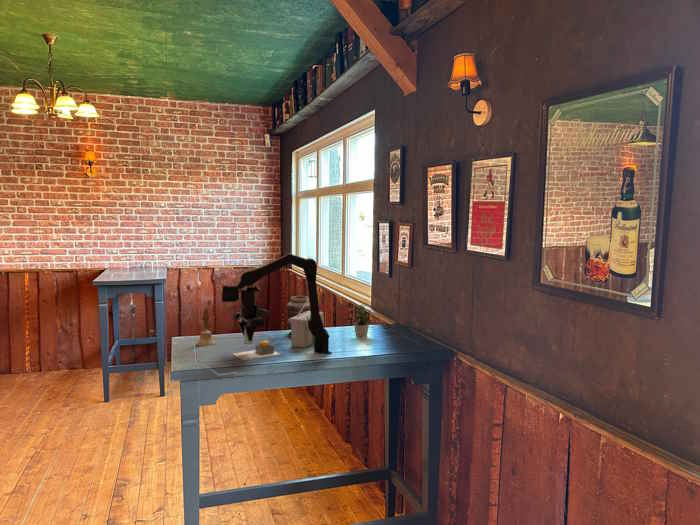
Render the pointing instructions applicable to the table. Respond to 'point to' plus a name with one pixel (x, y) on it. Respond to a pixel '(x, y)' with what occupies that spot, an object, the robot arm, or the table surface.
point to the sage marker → (246, 338)
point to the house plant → (361, 322)
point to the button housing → (264, 349)
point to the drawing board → (252, 355)
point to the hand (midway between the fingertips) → (248, 339)
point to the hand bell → (205, 332)
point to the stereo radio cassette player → (302, 329)
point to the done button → (264, 343)
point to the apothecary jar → (297, 306)
